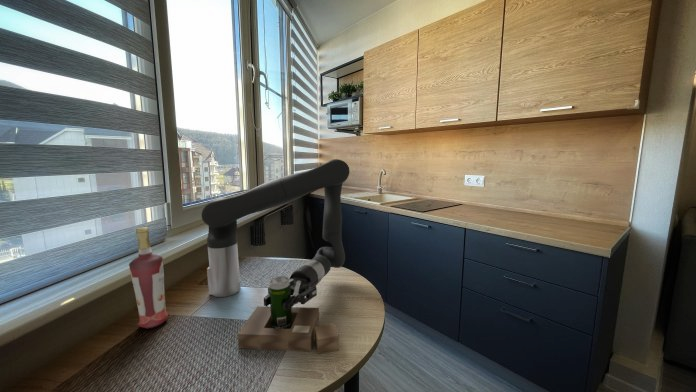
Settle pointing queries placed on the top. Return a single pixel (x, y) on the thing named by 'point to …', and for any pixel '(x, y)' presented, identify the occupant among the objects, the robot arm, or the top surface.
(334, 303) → the top surface
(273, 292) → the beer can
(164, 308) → the liquor
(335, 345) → the walnut block
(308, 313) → the socket block
